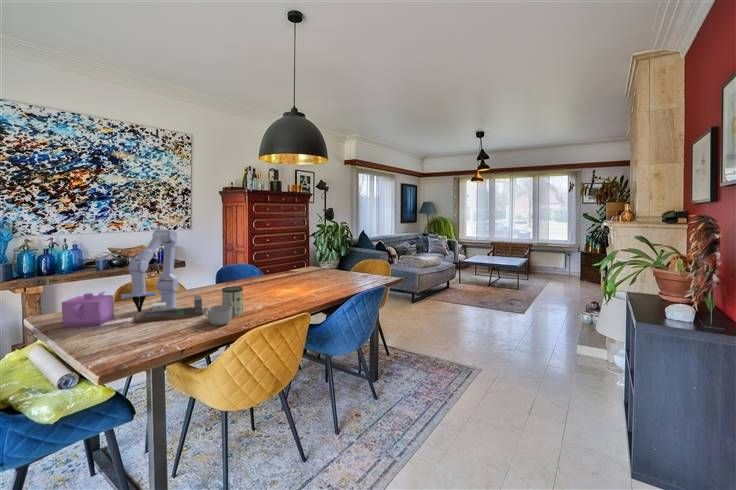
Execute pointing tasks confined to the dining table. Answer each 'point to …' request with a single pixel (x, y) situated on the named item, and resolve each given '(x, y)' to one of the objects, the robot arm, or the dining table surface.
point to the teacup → (218, 314)
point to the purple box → (87, 310)
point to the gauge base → (172, 312)
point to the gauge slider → (158, 306)
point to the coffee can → (233, 299)
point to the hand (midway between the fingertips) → (139, 311)
